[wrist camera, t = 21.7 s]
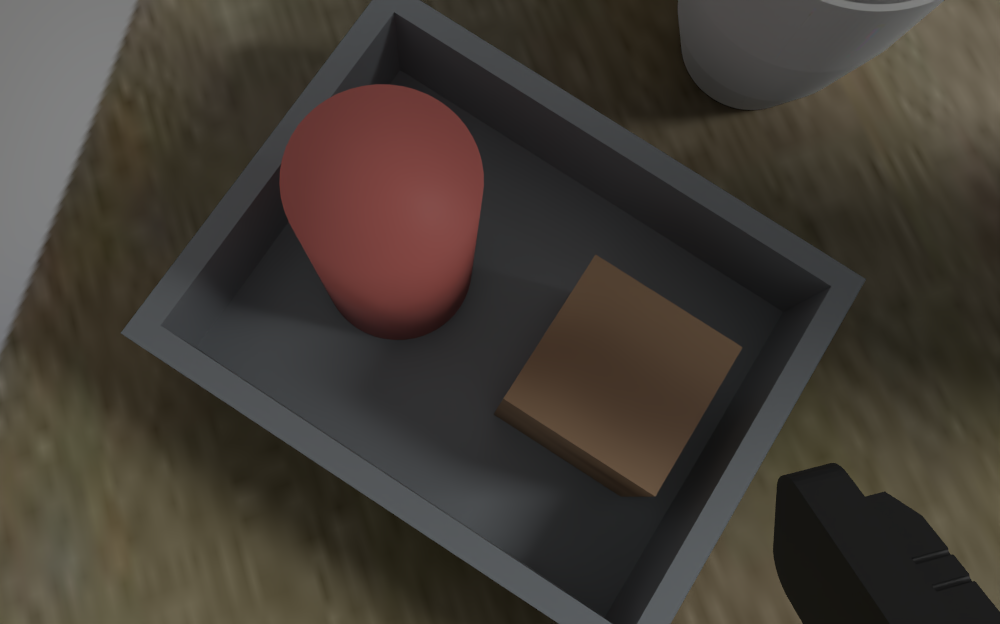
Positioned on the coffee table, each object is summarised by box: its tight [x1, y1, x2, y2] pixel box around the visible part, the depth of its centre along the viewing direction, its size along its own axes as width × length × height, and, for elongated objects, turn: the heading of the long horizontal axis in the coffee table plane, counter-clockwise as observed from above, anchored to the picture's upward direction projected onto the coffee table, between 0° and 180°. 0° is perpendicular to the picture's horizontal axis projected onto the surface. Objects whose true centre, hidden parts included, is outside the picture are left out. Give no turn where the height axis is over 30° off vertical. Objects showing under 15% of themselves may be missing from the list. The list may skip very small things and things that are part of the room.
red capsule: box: [279, 84, 484, 340], centre depth 27 cm, size 5×5×9 cm
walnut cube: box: [494, 255, 743, 497], centre depth 29 cm, size 5×5×5 cm
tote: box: [121, 0, 866, 624], centre depth 30 cm, size 14×18×5 cm
